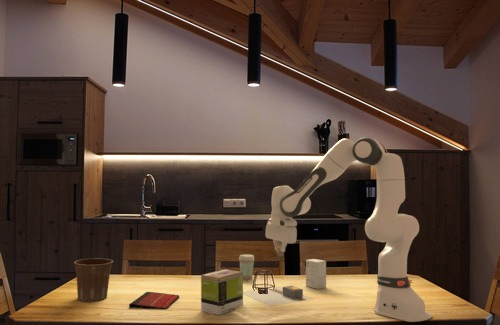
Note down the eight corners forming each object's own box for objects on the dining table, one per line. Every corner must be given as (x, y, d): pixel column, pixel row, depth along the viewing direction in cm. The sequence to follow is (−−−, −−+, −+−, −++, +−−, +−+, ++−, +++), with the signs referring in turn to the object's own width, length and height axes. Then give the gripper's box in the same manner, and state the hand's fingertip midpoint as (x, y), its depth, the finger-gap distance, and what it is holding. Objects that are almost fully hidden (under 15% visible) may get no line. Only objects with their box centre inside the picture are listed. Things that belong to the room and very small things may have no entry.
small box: (326, 287, 226) (326, 260, 227) (317, 289, 222) (317, 262, 223) (314, 284, 232) (314, 258, 233) (305, 286, 228) (305, 259, 229)
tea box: (225, 303, 195) (225, 268, 196) (243, 307, 189) (244, 271, 189) (200, 311, 183) (200, 273, 184) (218, 316, 177) (218, 277, 178)
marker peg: (284, 257, 211) (284, 242, 211) (278, 258, 210) (279, 242, 210) (280, 256, 214) (281, 241, 214) (275, 257, 212) (275, 241, 212)
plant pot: (119, 295, 207) (120, 259, 207) (98, 304, 191) (99, 265, 192) (88, 292, 211) (88, 257, 212) (65, 301, 196) (66, 263, 196)
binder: (129, 303, 187) (146, 291, 208) (128, 309, 187) (145, 296, 208) (167, 306, 185) (180, 294, 206) (167, 312, 185) (180, 299, 206)
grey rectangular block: (302, 297, 200) (302, 288, 200) (293, 298, 198) (293, 290, 198) (291, 293, 207) (291, 285, 207) (282, 294, 204) (282, 286, 205)
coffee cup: (236, 276, 249) (236, 254, 249) (251, 276, 251) (251, 253, 252) (241, 280, 241) (241, 257, 241) (256, 279, 243) (256, 256, 244)
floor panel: (312, 302, 198) (313, 298, 198) (270, 309, 186) (270, 305, 187) (278, 289, 220) (278, 286, 220) (238, 295, 209) (238, 292, 209)
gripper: (262, 218, 219) (261, 247, 219) (287, 223, 202) (287, 254, 201) (273, 218, 223) (272, 246, 222) (299, 222, 205) (298, 253, 205)
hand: (279, 250), depth 212 cm, fingers closed on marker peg, 3 cm apart
